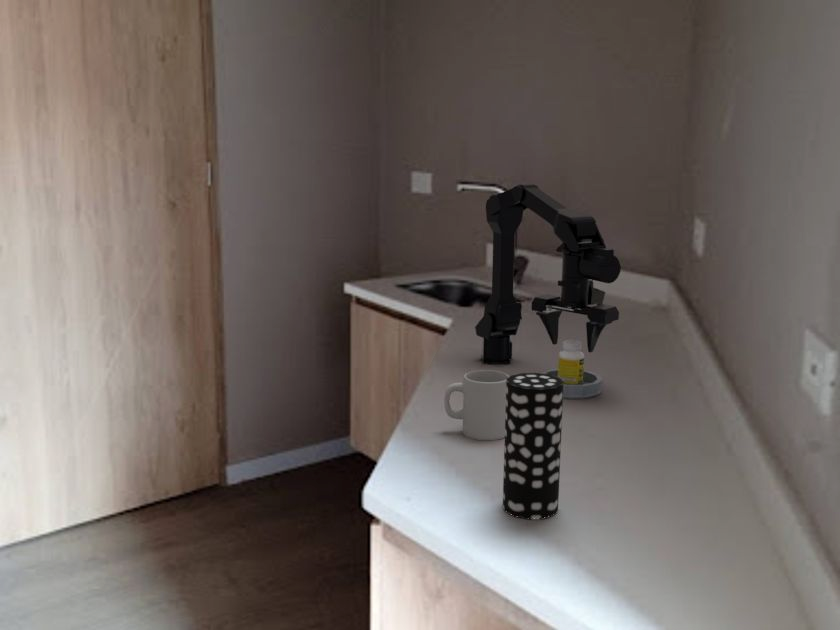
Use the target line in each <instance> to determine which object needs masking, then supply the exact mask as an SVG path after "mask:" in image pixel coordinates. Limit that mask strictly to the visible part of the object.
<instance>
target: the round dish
mask: <svg viewBox="0 0 840 630" xmlns="http://www.w3.org/2000/svg"><path fill="white" fill-rule="evenodd" d="M541 373H542V374H548V375H553V376H556V377H558V368H555V369H554V368H553V369H547V370H544V371H543V372H541ZM602 389H603V378H602V377H601V375H600V374H598V373H595V372H593V371H590V370H585V369H583V385H567V384H563V399H566V400H567V399H568V400H569V399H570V400H585V399H591V398H596V397H598V396H600V395H601V393H602Z"/></svg>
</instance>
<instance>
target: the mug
mask: <svg viewBox="0 0 840 630" xmlns="http://www.w3.org/2000/svg"><path fill="white" fill-rule="evenodd" d="M509 376H510V375H508V374H507V373H505V372H502V371H500V370H499V371H498V370H491V369H479V370H471V371H469V372H466V373H465V374H464V375H463V382H454V383H451V384H449V385H448V386H447V388H446V390H445V393H444V398H443V400H444V409H445V412H446V415H447V416H448V417H449V418H452V419H455V420H462V432H463V433H462V434H463V435H466V437H467V436H468V437H467V438H469V437H470V438H469V439H472V438H473V439H472V440H476V439H477V440H478V441H488V440H489V441H497V440H502V439H505V410H506V379H507V378H508V377H509ZM454 392H459V393H462V395H463V396H462V397H463V400H462V401H463V402H462V403H463V404H462V409H459V410H455V409H453V408H452V407H451V404H450V398H451V395H452V393H454ZM477 440H476V441H477Z"/></svg>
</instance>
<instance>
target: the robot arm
mask: <svg viewBox="0 0 840 630" xmlns="http://www.w3.org/2000/svg"><path fill="white" fill-rule="evenodd" d="M527 210H530V211H531V212H533V213H534V214H535V215H537V216H538V217H540V218H541V219H543V220H544V222H546V223H548V224H549V225H550V226H551V227H552V229H553V234H554V235H555V236H556V237H557V238H558V239H559V240H560V241H561V244H560V245H559V246H558V247H557V248H556V249H555V251H556V252H557V253H562V263H561V266H562V267H561V279H560V280H557V286H558V287H559V286H560V287H561V288H560V289H561V291H560V296H559V295H558V296H557V295H553V294H543V295H540V296H539V295H538V296H535V297H533V299H532V300H531V307H530V308H531V309H530V310H531V311H534V312H535V315H537V316H538V317H539V319H540V320H541V322H542V323H543V326H544V327H545V330H546V332H547V335H548V337H549V338H550V341H551V343H552V345H553V346H554V345H558V340H559V321H560V317H561V314H562V312H567V313H572V314H579V315H584V316H587V319H588V320H589V321H587V322H585V324H586V325H585V327H586V344H587V345H586V347H587V351H588V353H593V352H594V350H595V347H596V345H597V342H598V340H599V338H600V336H601V334H602V332H603V330H604V328H606V326H607V325H610V324H612V323H613V322H615V321H619V320H620V319H619V318H620V317H619V316H620V311H619V309H618V308H617V306H615V305H610V304H604V301H605V300H604V299H605V296H606V291H604V290H601V289H599V288H597V287H594V281H597V282H600V283H605V284H612V283H614V282H615V281H616V280H617V279H618V278H619V276H620V274H621V268H622V266H621V264H620V263H621V262H620V261H619V258H618V257H617V256H615V255H614V254H615V250H614V249H613V248H607V247H606V244H605V240H604V239H603V237H602V234H601V232H600V230H599V227H598V225H597V221H596V219H595V218H594V217H593V216H592V215H590V214H587V213H585V212H582V211H578V210H572V209H570V208H568V207H566V206H564V205H563V204H561V203H560V202H558V201H557V200H556V199H554V198H553V197H552V196H550V195H549V194H547V193H545V192H544V191H542V190H541V189H540V188H539V186H538V185H536V184H534V183H524V184H523V183H520V184H517V185H515V186H514V187H512V188H510V189H507V190H505V191H502V192H500V193H497V194H492V195H490V196H489V198H487V200H486V202H485V215H486V222H487V224H488V226H489V228H490V230H491V231H492V269H491V270H492V275H491V279H492V280H491V294H490V296H489V297H488V300H487V301H486V303H485V305H484V310H483V316H482V318H481V319H480V320H479V321H478V322H477V324H476V325H475V326H474V329H475V333H476V336H478V337H480V338H482V345H481V346H482V348H481V349H482V350H481V351H482V352H481V353H482V354H481V355H480V356H481V361H482V363H483V364H511V360H512V359H513V342H512V340H511V336H516V335H517V333H518V330H519V327H520V324H521V321H522V320H523V318H522V310H523V309H522V307H523V306H522V305H523V304H522V302H519V301H517V298H516V297H515V294H514V279H515V277H514V276H515V249H516V248H515V241H516V237H515V236H516V232H517V230H518V228H519V227H520V226H521V223H522V222H523V215H524V212H525V211H527ZM592 305H593V306H592Z"/></svg>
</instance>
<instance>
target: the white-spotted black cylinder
mask: <svg viewBox="0 0 840 630" xmlns="http://www.w3.org/2000/svg"><path fill="white" fill-rule="evenodd" d="M542 373H543V372H538V373H537V372H521V373H516V374H512V375H509V377H508V378H507V379H506V410H505V437H504V444H503V445H504V447H503V483H502V487H503V488H502V509H503V508H504V509H503V511H504V512H506V511H507V512H508V513H509V514H508V513H507V512H506V513H507V514H508V515H510V514H512V515H514V516H513V517H515V516H518V517H524V518H529V519H528V520H539V519H538V518H544V517H548V516H551V515H553V514H555V513H556V512H557V511H559V496H560V495H559V492H560V472H561V470H560V468H561V450H562V449H561V448H562V430H563V429H562V425H563V405H564V404H563V403H564V402H563V401H564V398H563V384H564V382H563V380H562V379H560V378H559V377H556V376H553V375H548V374H542ZM557 513H558V512H557ZM557 513H556V514H557ZM556 514H555V515H556ZM512 515H511V516H512ZM553 516H554V515H553ZM518 517H517V518H518ZM551 517H552V516H551ZM534 518H535V519H534Z"/></svg>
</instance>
